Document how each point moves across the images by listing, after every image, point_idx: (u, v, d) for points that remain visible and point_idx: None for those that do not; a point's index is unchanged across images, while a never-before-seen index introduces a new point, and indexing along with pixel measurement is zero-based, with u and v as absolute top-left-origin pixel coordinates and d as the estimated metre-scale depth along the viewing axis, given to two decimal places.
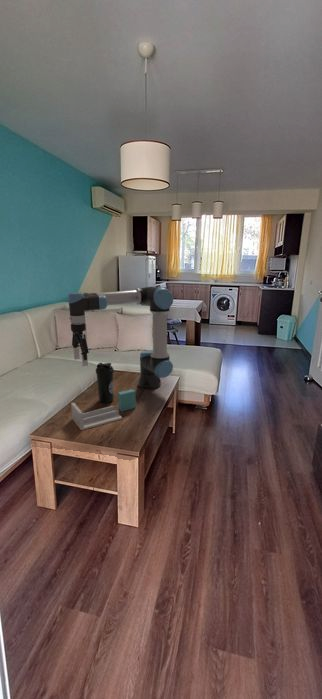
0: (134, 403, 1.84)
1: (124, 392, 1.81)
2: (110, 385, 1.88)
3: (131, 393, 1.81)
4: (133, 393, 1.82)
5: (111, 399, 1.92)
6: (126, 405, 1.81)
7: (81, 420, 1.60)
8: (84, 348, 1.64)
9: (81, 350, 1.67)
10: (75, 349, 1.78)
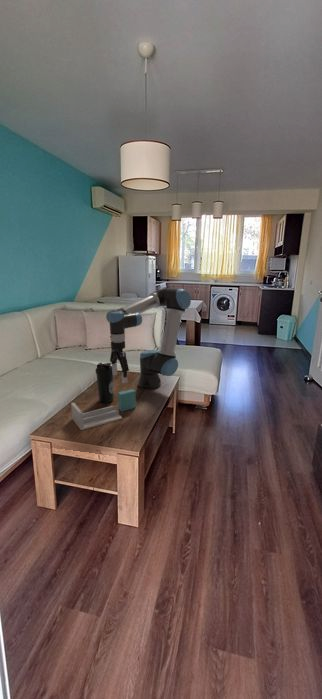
0: (134, 403, 1.84)
1: (124, 392, 1.81)
2: (110, 385, 1.88)
3: (131, 393, 1.81)
4: (133, 393, 1.82)
5: (111, 399, 1.92)
6: (126, 405, 1.81)
7: (81, 420, 1.60)
8: (124, 366, 1.69)
9: (121, 367, 1.71)
10: (113, 365, 1.83)
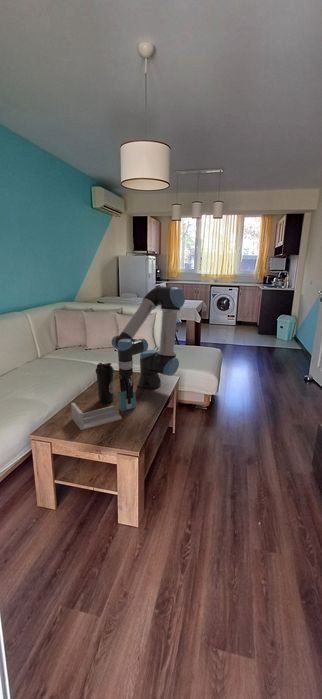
0: (134, 403, 1.84)
1: (124, 392, 1.81)
2: (110, 385, 1.88)
3: None
4: (133, 393, 1.82)
5: (111, 399, 1.92)
6: None
7: (81, 420, 1.60)
8: (130, 394, 1.77)
9: (126, 394, 1.79)
10: None
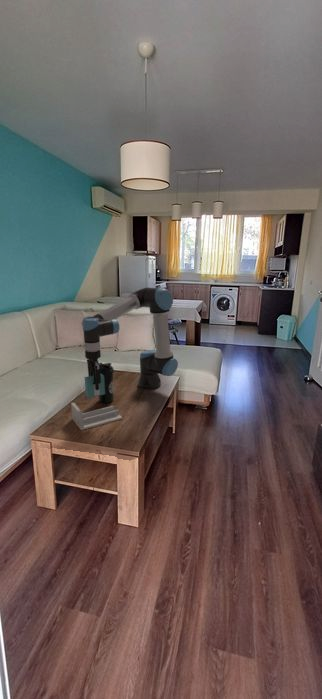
0: (103, 389, 1.68)
1: (91, 377, 1.65)
2: (110, 385, 1.88)
3: None
4: (101, 378, 1.66)
5: (111, 399, 1.92)
6: None
7: (81, 420, 1.60)
8: (97, 379, 1.61)
9: None
10: None
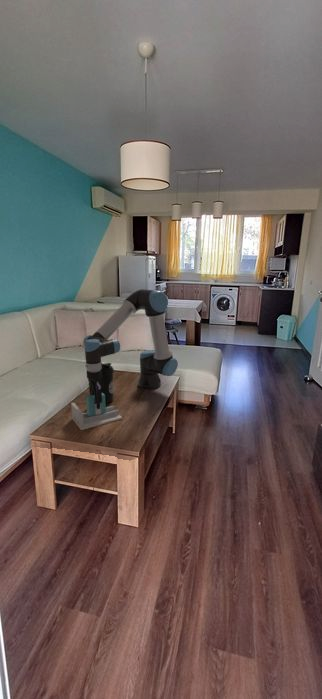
0: (104, 408, 1.71)
1: (93, 396, 1.68)
2: (110, 385, 1.88)
3: None
4: (103, 397, 1.69)
5: (111, 399, 1.92)
6: None
7: (81, 420, 1.60)
8: (98, 399, 1.64)
9: (95, 398, 1.66)
10: None
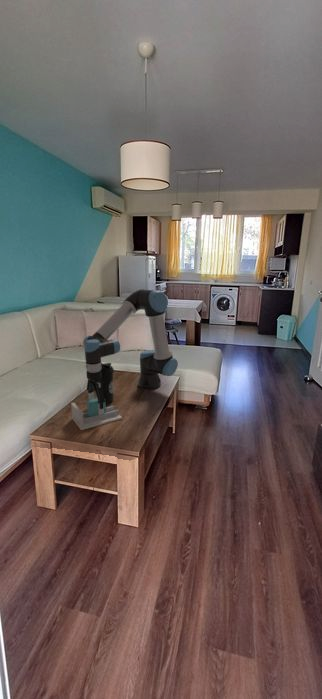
0: (104, 412, 1.71)
1: (93, 400, 1.68)
2: (110, 385, 1.88)
3: None
4: None
5: (111, 399, 1.92)
6: (95, 414, 1.69)
7: (81, 420, 1.60)
8: (101, 397, 1.60)
9: None
10: (90, 394, 1.74)
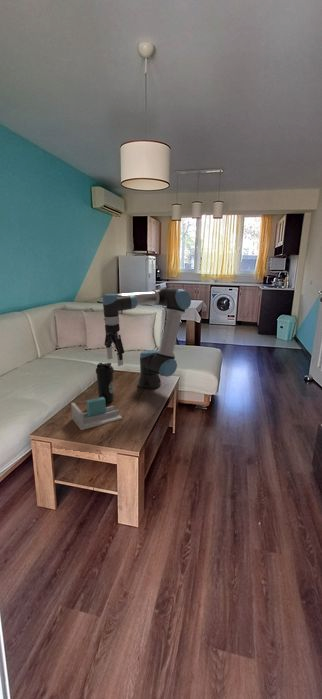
0: (104, 412, 1.71)
1: (93, 400, 1.68)
2: (110, 385, 1.88)
3: (101, 401, 1.69)
4: (103, 401, 1.70)
5: (111, 399, 1.92)
6: (95, 414, 1.69)
7: (81, 420, 1.60)
8: (120, 348, 1.67)
9: None
10: (108, 349, 1.81)
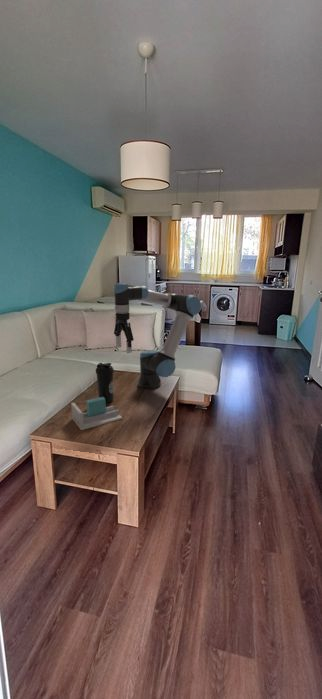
0: (104, 412, 1.71)
1: (93, 400, 1.68)
2: (110, 385, 1.88)
3: (101, 401, 1.69)
4: (103, 401, 1.70)
5: (111, 399, 1.92)
6: (95, 414, 1.69)
7: (81, 420, 1.60)
8: (129, 336, 1.73)
9: (126, 338, 1.76)
10: (117, 337, 1.87)
